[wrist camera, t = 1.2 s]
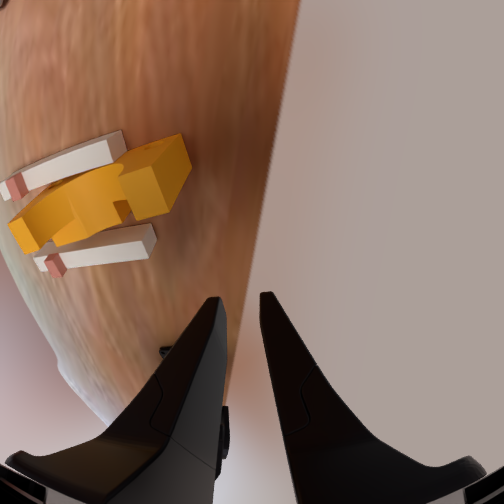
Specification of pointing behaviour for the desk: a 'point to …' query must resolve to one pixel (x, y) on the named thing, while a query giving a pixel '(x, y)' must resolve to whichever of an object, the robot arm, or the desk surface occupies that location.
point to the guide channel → (101, 243)
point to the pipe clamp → (105, 195)
